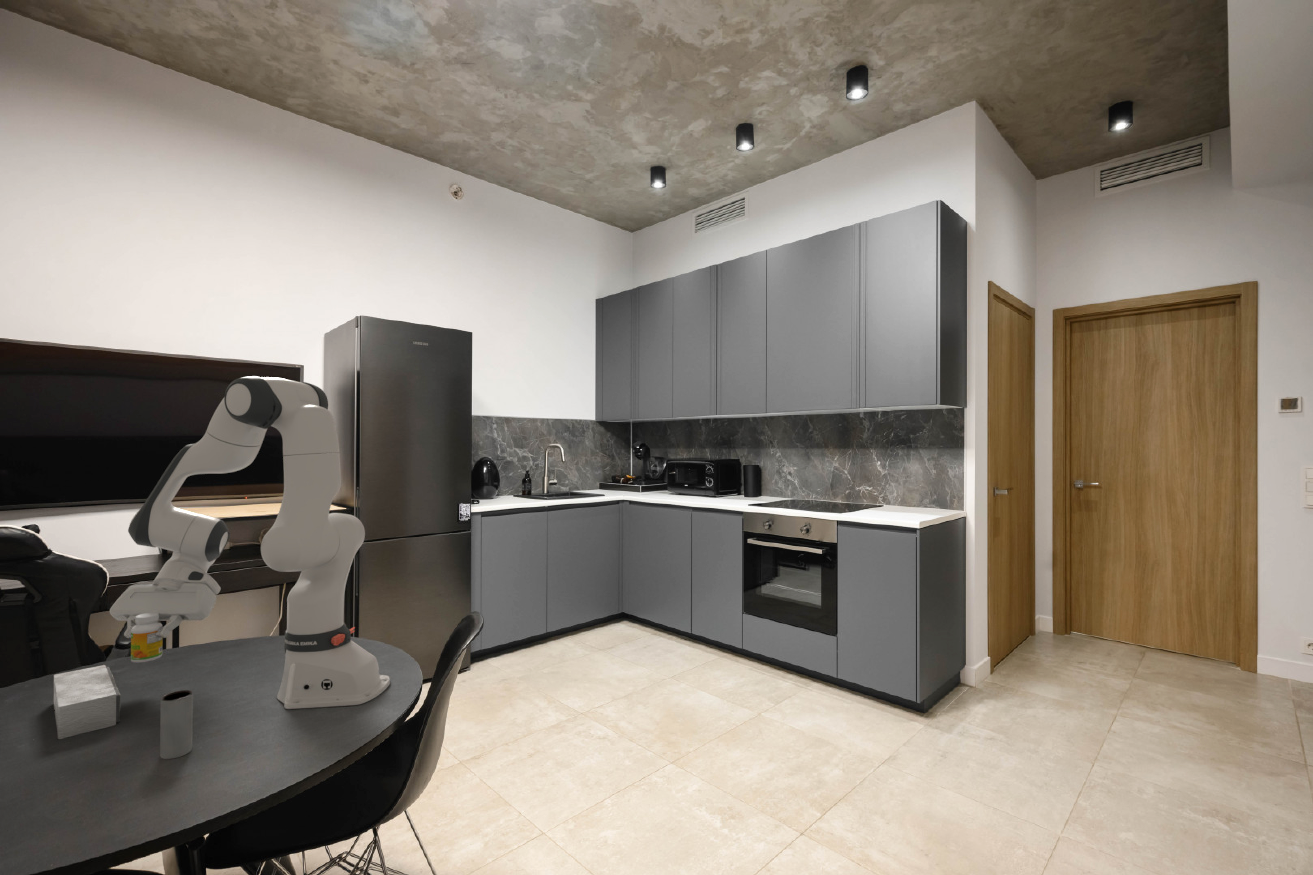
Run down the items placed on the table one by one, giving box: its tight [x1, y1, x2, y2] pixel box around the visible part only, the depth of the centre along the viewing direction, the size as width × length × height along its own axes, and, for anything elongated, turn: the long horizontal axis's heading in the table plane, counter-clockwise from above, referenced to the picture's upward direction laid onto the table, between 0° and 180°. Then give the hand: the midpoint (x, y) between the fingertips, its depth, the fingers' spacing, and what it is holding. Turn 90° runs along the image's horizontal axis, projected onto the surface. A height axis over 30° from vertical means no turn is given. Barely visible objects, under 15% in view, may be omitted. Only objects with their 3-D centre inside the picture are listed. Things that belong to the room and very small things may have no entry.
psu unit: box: [53, 664, 121, 740], centre depth 123 cm, size 22×9×6 cm, turn 47°
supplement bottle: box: [130, 613, 164, 663], centre depth 134 cm, size 5×5×10 cm
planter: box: [159, 689, 194, 760], centre depth 108 cm, size 4×4×10 cm
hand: (144, 636), depth 133 cm, fingers closed on supplement bottle, 5 cm apart
